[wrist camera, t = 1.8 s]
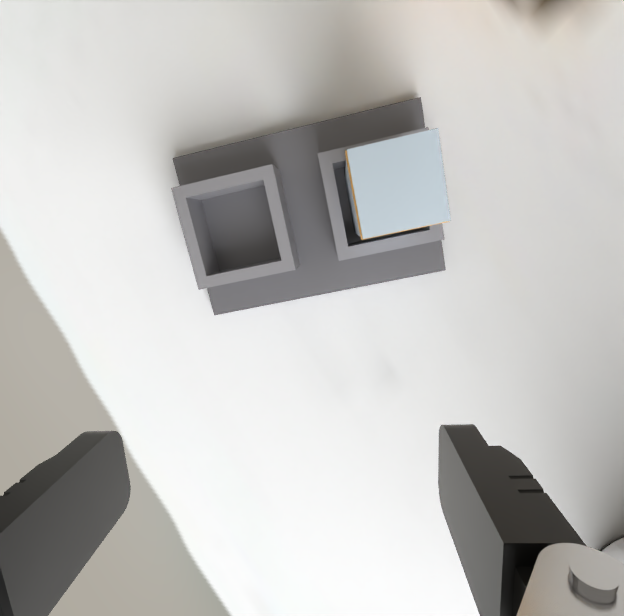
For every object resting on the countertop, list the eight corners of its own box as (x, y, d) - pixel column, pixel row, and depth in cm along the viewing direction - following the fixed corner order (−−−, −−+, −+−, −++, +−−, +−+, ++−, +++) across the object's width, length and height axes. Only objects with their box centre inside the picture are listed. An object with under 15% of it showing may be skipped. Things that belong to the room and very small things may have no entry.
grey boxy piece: (417, 101, 28) (430, 81, 24) (442, 268, 30) (457, 275, 26) (178, 160, 30) (153, 151, 26) (218, 312, 32) (201, 324, 28)
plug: (401, 163, 28) (438, 126, 17) (410, 222, 28) (452, 221, 18) (343, 176, 28) (345, 148, 17) (354, 233, 29) (362, 240, 18)
